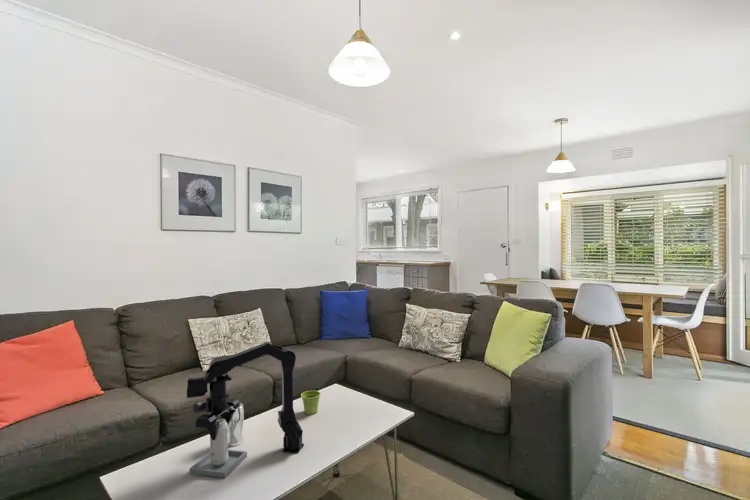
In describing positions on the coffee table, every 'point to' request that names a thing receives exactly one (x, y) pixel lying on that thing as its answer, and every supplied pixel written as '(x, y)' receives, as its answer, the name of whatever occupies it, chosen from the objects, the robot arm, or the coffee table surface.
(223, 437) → the energy drink can
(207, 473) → the blue-gray tray
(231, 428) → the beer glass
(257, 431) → the coffee table surface
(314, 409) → the plant pot
